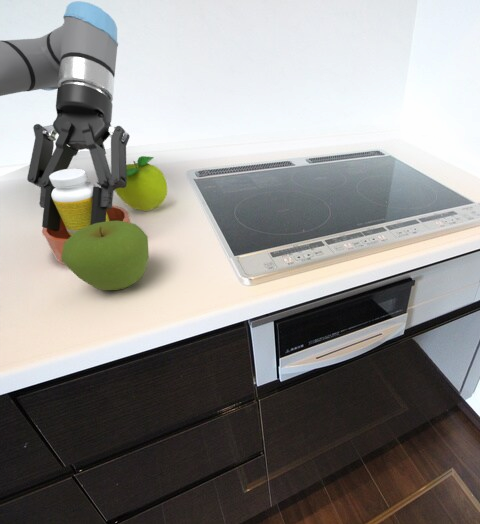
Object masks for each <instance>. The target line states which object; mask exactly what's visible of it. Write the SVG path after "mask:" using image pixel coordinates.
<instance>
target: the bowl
mask: <svg viewBox="0 0 480 524" xmlns="http://www.w3.org/2000/svg"><path fill="white" fill-rule="evenodd" d="M106 212H107V215H108V217H109V220H110V221H124V222H129V223H132V220H131V217H130V214H129V212H128V210H126V209H125V208H124V207H121V206H117V205H112V208H111V209H107V211H106ZM41 234H42V235H43V237H44V239H45V241H46V243H47V245H48V246H49V249H50V250H51V253H52V254H53V256H54V258H55V260H56V261H57V262H58V263H60V264H61V265H64V266H67V265H66V264H65V263H64V262H63V261H62V260H61V259H62V252H63V245H64V242H65V241H66V240H67V239H69V238H70V235H69V233H68V231H67V229H66V227H65V225H64V223H63V220H62V218H61V219H60V229H59V231H53V230H50V229H47V228H44V227H42V230H41Z"/></svg>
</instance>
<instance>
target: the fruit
mask: <svg viewBox="0 0 480 524" xmlns="http://www.w3.org/2000/svg"><path fill="white" fill-rule="evenodd" d="M153 159H155V157H153V156H144V155H142V156H140V157H138V158H137V162H136V161H135V160H133V161H132V162H133V163H129V164H128V163H127V164H126V170H127V186H126V187H125V188H121V187H120V188H117V189H115V190H114V191H115V194H116V195H117V196H118V198H119V199H121V201H123V203H124V204H125V205H127V206H128V207H130V208H132V209H133V210H137V211H144V212H148V211H151V210H153V209H154V210H155V209H156V208H157V209H158V208H159V207H160V206H161V205H162V204H163V202H165V200H166V198H167V195H168V185H167V179H166V176H165V175H164V173H163V171H162V170H160V168H159V167H157V166H155V165H153V164H151V163H150V161H152V160H153Z"/></svg>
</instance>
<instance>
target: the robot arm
mask: <svg viewBox="0 0 480 524" xmlns="http://www.w3.org/2000/svg"><path fill="white" fill-rule="evenodd" d="M62 19H63V24H62V25H60V26H59V27H57V28H55V29H53V30H52V31H50V32H49V33H47V34H45V35H42V36H40V37H36V38H26V39H25V38H23V39H21V38H20V39H8V40H7V39H6V40H1V39H0V97H2V96H7V95H13V94H17V93H22V92H24V93H25V92H32V91H38V90H42V91H54V90H56V99H55V110H56V117H55V119H54V120H53V123H52V124H50V125H44V126H43V125H41V124H40V123H36V124H34V125H33V127H32V129H33V134H34V137H35V138H34V143H33V147H32V153H31V157H30V161H29V162H30V163H29V167H28V172H27V177H26V180H27V181H28V182H29V183H31V184H33V185H35V186H37V187H39V188H40V193H39V194H40V195H39V202H38V203H39V204H38V205H39V207H40V208H42V209H43V212H42V213H43V215H42V224H41V227H42V228H43V227H44V228H47V229H50V230H53V231H59V229H60V219H61V216H60V214H59V212H58V210H57V208H56V205H55V203H54V201H53V199H52V196H51V194H52V191H53V189H54V188H56V187H54V186H53V185H52V183H51V181H50V178H49V176H50V175H51V174H52V173H54V172H57V171H60V170H64V169H69V167H70V165H71V162H72V160H73V158H74V157H76V156H77V155H78V153H79V151H81V150H82V151H83V150H88V151H89V154H90V158H91V161H92V164H93V168H94V171H95V174H96V178H97V181H96V184H97V185H98V186H96V187H93V198H92V210H91V223H90V225H92V224H95V223H100V222H105V221H106V211H107V209H111V208H112V206H113V200H114V191H115V189H117V188H120V187H121V188H125V187H126V186H127V170H126V165H127V145H128V142H129V140H130V134H129V132H127V131H126V130H125V129H124V128H123V127H122V126H121V125H117V126H112V124H111V123H112V118H113V106H114V105H113V100H114V87H115V77H116V64H117V54H118V48H119V42H118V27H117V23H116V22H115V20H114V18H112V16H111V15H110V14H109V13H107V12H106V11H104V9H102V8H101V7H99V6H97V5H95V4H93V3H90V2H86V1H81V0H77V1H76V0H75V1H72V2H70V3H69V4H67V6H66V8H65V12H64V14H63V17H62ZM57 135H58V137H56V136H57ZM109 137H110V165H109V162H108V159H107V156H106V154H107V152H106V148H105V145H104V143H105V141H107V139H108V138H109ZM54 143H55V144H54ZM54 147H55V149H54Z"/></svg>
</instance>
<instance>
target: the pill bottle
mask: <svg viewBox="0 0 480 524" xmlns="http://www.w3.org/2000/svg"><path fill="white" fill-rule="evenodd" d="M49 178H50V181H51V183H52V185H53V186H54V187H56V188H54V189H53V191H52V194H51V196H52V199H53V201H54V203H55V205H56V208H57V210H58V212H59V214H60V216H61V218H62V220H63V223H64V225H65V227H66V229H67V231H68V233H69V235H70V237H71V236H72V235H73V234H74V233H75V232H77V231H78V230H80V229H82V228H84V227H87V226H89V225H90V223H91V210H92V198H93V187H97V185H95V184H94V183H92V182H89V178H88V174H87V172H86V171H85V170H84V169H82V168H68V169H64V170H60V171H57V172H54V173H52V174H51V175H50V176H49ZM106 221H110V220H109V217H108V215H107V212H106Z"/></svg>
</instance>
